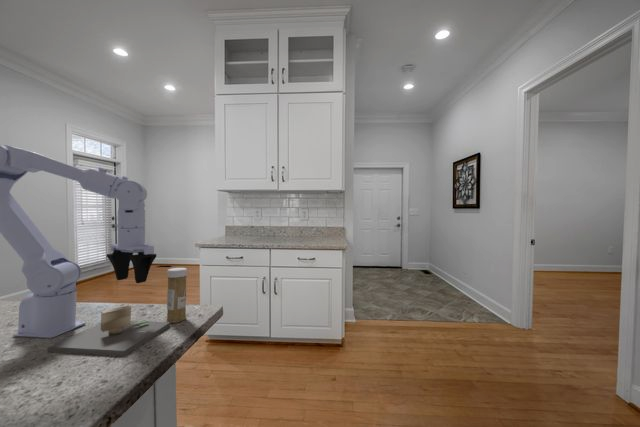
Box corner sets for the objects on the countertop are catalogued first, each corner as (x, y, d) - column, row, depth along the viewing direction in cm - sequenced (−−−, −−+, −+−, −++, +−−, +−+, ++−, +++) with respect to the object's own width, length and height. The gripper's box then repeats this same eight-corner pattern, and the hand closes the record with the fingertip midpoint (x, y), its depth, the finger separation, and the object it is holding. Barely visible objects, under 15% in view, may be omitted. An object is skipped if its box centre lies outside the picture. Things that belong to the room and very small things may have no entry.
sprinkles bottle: (187, 321, 68) (188, 269, 69) (166, 324, 66) (168, 271, 66) (184, 315, 72) (186, 266, 72) (165, 318, 70) (166, 267, 70)
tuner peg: (103, 337, 56) (104, 313, 56) (99, 333, 57) (100, 310, 58) (150, 324, 63) (151, 303, 63) (146, 321, 65) (147, 301, 65)
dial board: (47, 351, 52) (48, 345, 52) (109, 323, 66) (109, 318, 66) (124, 356, 51) (124, 349, 51) (170, 326, 65) (170, 321, 65)
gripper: (165, 227, 69) (165, 280, 69) (130, 226, 74) (130, 275, 74) (137, 229, 62) (137, 286, 62) (101, 228, 68) (101, 280, 68)
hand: (131, 280), depth 68 cm, fingers open, 7 cm apart
